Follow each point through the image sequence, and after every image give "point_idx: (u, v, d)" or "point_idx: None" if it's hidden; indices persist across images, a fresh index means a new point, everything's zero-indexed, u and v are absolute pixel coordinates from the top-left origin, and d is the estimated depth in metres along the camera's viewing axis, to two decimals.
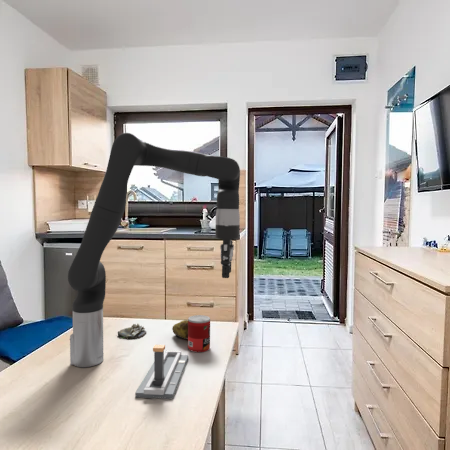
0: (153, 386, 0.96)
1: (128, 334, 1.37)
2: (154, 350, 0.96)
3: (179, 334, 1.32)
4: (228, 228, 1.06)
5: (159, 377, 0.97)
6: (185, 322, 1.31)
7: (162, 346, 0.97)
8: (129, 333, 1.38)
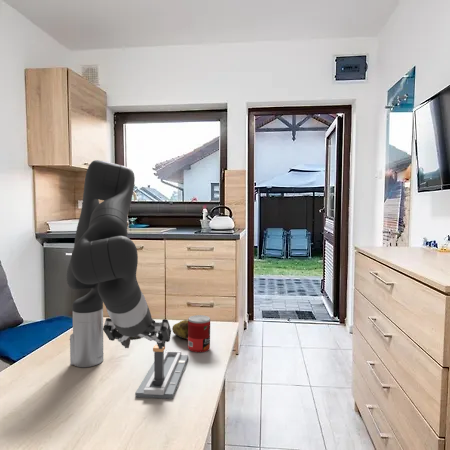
0: (153, 386, 0.96)
1: None
2: (154, 350, 0.96)
3: (179, 334, 1.32)
4: None
5: (159, 377, 0.97)
6: (185, 322, 1.31)
7: None
8: None
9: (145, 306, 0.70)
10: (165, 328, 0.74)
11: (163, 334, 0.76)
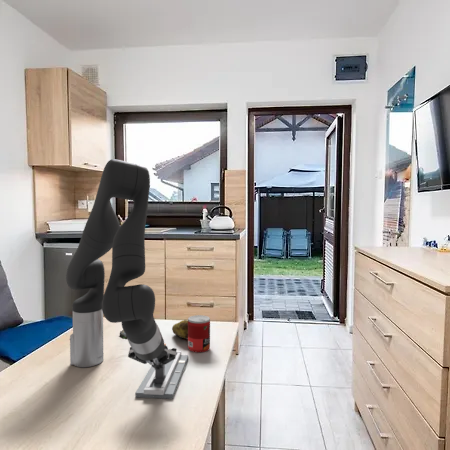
0: (153, 386, 0.96)
1: None
2: None
3: (179, 334, 1.32)
4: None
5: (160, 375, 0.98)
6: (185, 322, 1.31)
7: None
8: None
9: (159, 336, 0.83)
10: (175, 356, 0.90)
11: (168, 359, 0.91)
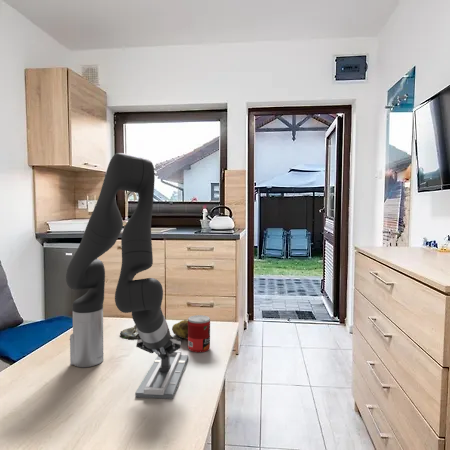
0: (153, 386, 0.96)
1: (130, 334, 1.37)
2: None
3: (179, 334, 1.32)
4: None
5: (166, 364, 1.05)
6: (184, 322, 1.31)
7: None
8: (131, 333, 1.38)
9: (166, 326, 0.90)
10: (180, 346, 0.97)
11: (174, 349, 0.97)
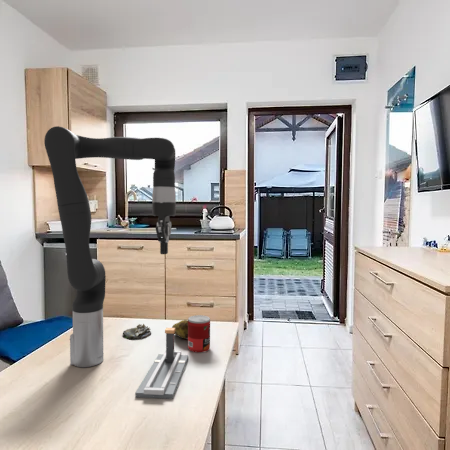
0: (153, 386, 0.96)
1: (132, 334, 1.37)
2: (166, 332, 1.11)
3: (178, 334, 1.32)
4: (163, 205, 1.11)
5: (170, 355, 1.11)
6: (184, 322, 1.31)
7: (173, 329, 1.12)
8: (133, 333, 1.38)
9: None
10: None
11: (170, 230, 1.20)
